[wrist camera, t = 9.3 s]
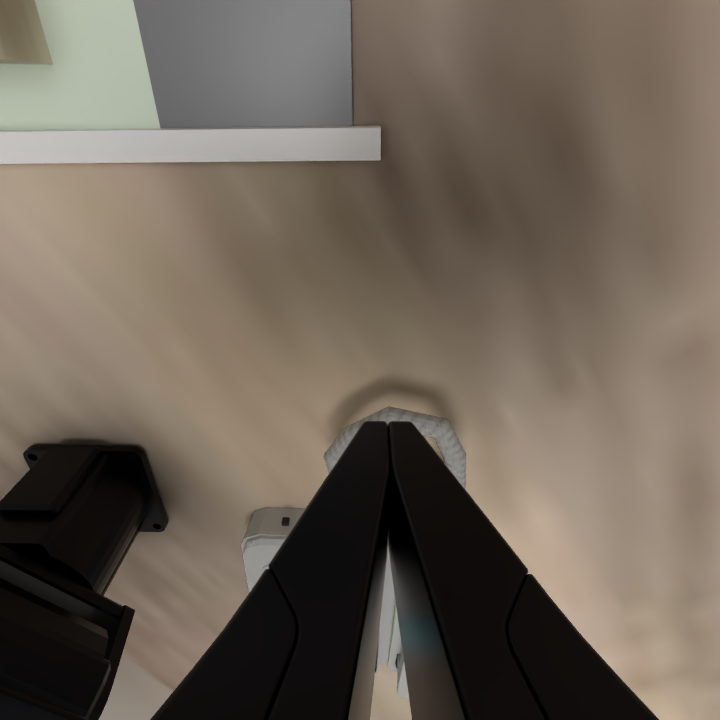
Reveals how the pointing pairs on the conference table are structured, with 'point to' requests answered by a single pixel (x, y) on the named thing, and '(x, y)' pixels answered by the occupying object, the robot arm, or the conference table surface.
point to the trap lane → (186, 84)
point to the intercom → (278, 522)
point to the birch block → (22, 34)
